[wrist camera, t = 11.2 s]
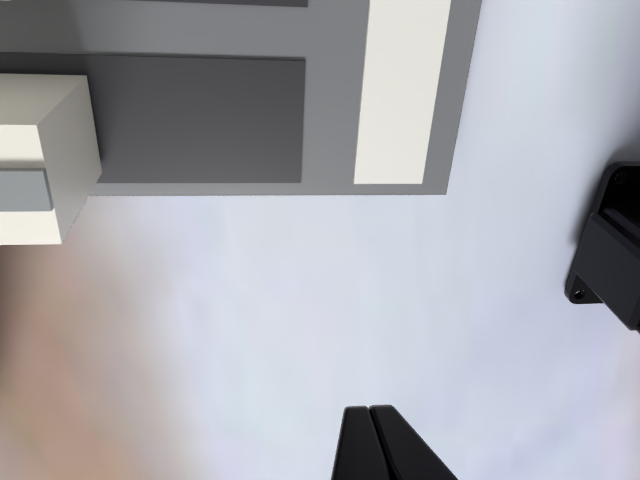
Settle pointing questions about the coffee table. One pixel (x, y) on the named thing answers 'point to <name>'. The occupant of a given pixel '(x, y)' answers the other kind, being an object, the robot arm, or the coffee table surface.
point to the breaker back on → (45, 156)
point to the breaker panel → (258, 90)
